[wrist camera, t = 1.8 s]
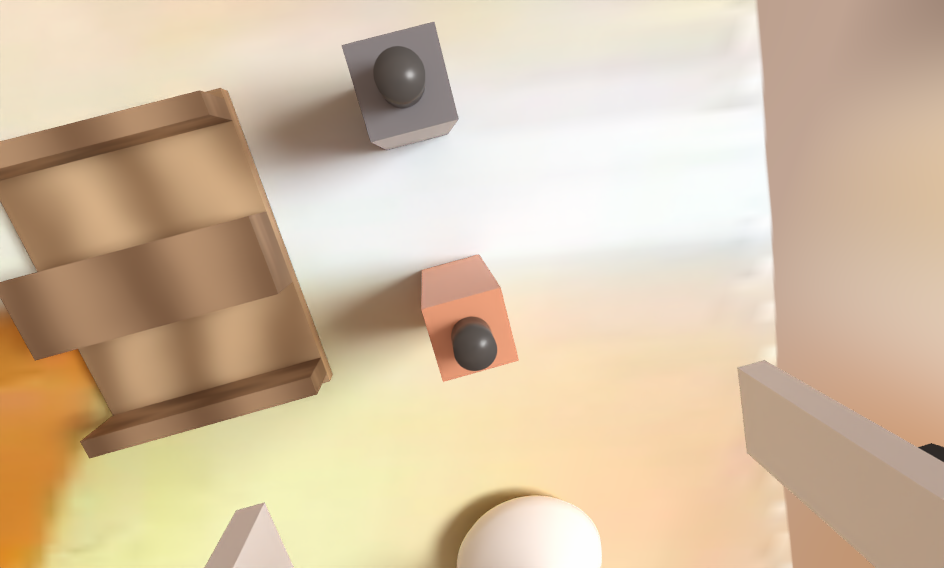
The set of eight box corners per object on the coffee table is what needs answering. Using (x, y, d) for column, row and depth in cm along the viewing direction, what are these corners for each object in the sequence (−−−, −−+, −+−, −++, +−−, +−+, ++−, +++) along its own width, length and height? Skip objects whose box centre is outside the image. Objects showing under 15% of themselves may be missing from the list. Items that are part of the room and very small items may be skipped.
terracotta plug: (437, 324, 32) (444, 401, 21) (421, 270, 31) (421, 322, 20) (493, 308, 32) (527, 377, 22) (478, 254, 31) (507, 298, 21)
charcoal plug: (386, 150, 29) (365, 139, 18) (367, 83, 28) (332, 31, 17) (448, 133, 29) (462, 113, 18) (430, 67, 28) (435, 5, 17)
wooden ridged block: (134, 430, 32) (94, 466, 28) (-10, 151, 27) (-83, 148, 23) (332, 374, 32) (320, 402, 28) (227, 90, 27) (195, 78, 23)
